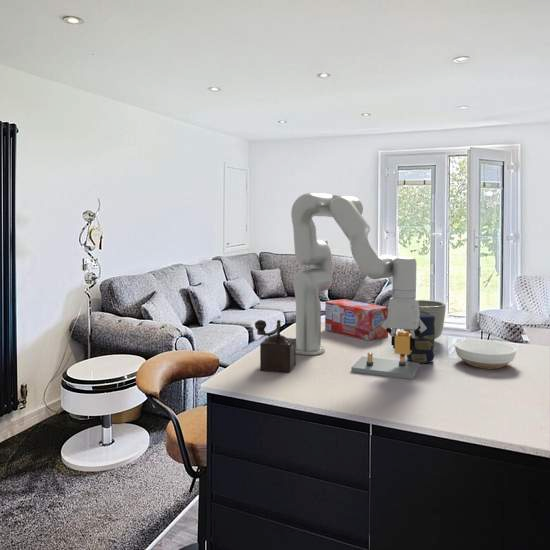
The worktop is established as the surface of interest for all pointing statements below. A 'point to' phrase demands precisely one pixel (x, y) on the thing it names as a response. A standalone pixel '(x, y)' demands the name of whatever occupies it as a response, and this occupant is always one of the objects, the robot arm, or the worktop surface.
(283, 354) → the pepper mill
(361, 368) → the plate
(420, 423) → the worktop surface
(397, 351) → the yellow cube with sphere
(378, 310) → the box
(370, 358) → the copper post
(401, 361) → the copper post
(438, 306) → the planter
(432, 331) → the canister
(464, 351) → the bowl
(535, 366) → the worktop surface
